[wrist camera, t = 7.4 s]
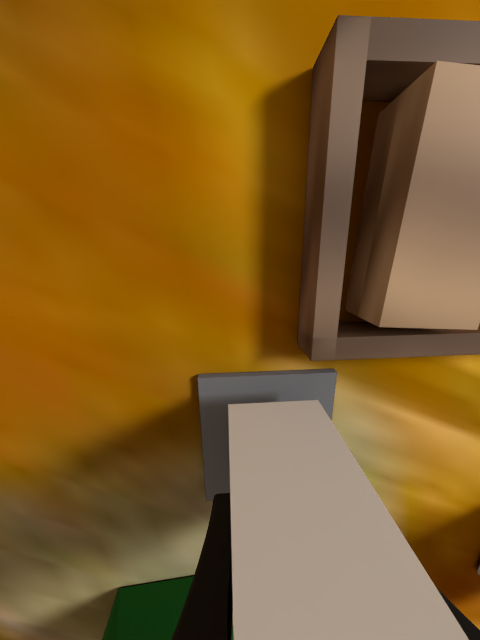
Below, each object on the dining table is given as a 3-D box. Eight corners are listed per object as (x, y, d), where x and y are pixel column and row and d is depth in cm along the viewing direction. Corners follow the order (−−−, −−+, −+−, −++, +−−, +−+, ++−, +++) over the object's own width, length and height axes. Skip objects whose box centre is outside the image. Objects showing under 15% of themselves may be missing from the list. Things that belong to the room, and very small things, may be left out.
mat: (320, 485, 15) (323, 492, 14) (206, 493, 14) (206, 500, 14) (333, 368, 12) (337, 372, 12) (198, 374, 12) (197, 378, 12)
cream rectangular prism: (307, 515, 13) (403, 819, 6) (231, 520, 12) (240, 844, 6) (318, 400, 11) (480, 657, 4) (228, 404, 10) (234, 687, 4)
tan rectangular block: (417, 311, 12) (477, 329, 9) (341, 308, 12) (379, 327, 9) (465, 125, 10) (563, 74, 7) (374, 117, 10) (436, 60, 7)
